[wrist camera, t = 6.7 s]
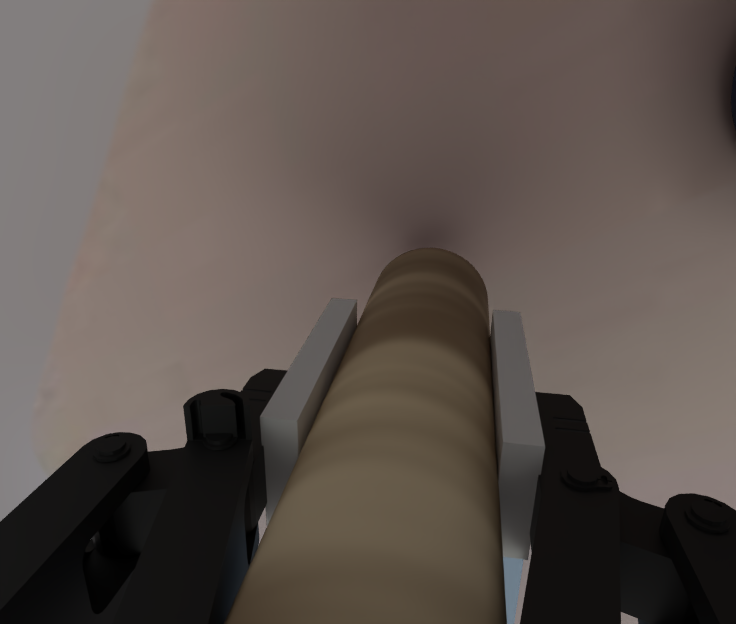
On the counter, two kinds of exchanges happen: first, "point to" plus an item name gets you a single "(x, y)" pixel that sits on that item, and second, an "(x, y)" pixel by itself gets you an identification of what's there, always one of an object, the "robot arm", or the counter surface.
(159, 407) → the counter surface
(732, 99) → the canister
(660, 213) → the counter surface
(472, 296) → the dowel
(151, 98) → the counter surface
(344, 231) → the counter surface
